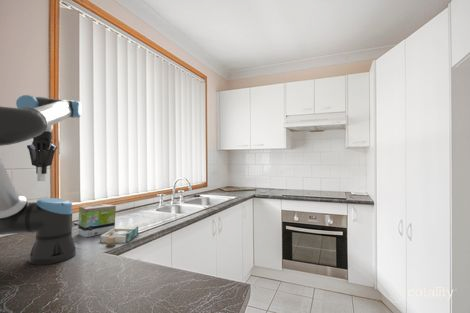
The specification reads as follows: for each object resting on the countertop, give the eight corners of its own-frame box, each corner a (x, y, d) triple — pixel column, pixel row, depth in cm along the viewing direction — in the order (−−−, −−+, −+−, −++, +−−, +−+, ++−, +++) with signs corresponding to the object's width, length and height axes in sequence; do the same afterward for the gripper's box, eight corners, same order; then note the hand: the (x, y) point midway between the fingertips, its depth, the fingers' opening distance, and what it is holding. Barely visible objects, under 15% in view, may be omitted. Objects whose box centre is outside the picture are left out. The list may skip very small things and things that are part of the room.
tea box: (85, 238, 121) (86, 208, 121) (77, 234, 127) (78, 206, 127) (115, 231, 133) (116, 205, 133) (106, 228, 139) (107, 202, 139)
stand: (112, 247, 109) (112, 239, 109) (104, 246, 109) (105, 239, 109) (116, 244, 113) (116, 236, 113) (108, 244, 113) (109, 236, 113)
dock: (125, 242, 115) (125, 236, 115) (99, 242, 115) (99, 236, 115) (136, 234, 129) (136, 228, 129) (113, 233, 129) (113, 228, 129)
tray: (127, 241, 116) (128, 233, 116) (102, 241, 116) (102, 233, 116) (138, 234, 128) (138, 226, 129) (115, 233, 128) (115, 226, 128)
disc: (124, 238, 119) (124, 234, 119) (110, 238, 118) (110, 235, 118) (129, 234, 126) (129, 230, 126) (116, 234, 125) (116, 231, 125)
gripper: (62, 132, 117) (60, 180, 117) (36, 131, 117) (34, 179, 117) (49, 130, 109) (48, 181, 109) (22, 129, 110) (20, 181, 109)
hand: (41, 180), depth 113 cm, fingers closed
